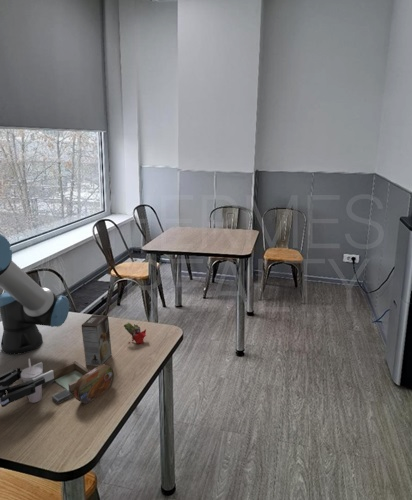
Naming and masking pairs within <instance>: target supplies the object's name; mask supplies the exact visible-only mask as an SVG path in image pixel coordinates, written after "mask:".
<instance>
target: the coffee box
mask: <svg viewBox="0 0 412 500" xmlns="http://www.w3.org/2000/svg"><path fill="white" fill-rule="evenodd" d="M80 327H81V334H82V341H83V342H82V344H83V351H84V353H83V354H84V360H85V361H84V362H85V365H86V366H95V367H97V366H99V365H104V364H105V362H106V361H107V360H108V358H109V357H110V356H112V346H111V344H112V343H111V333H110V323H109V315H99V314H91V316H90V317H89V318H88V319H86V320H85V321H84V322H83V323H82V324H81V326H80Z"/></svg>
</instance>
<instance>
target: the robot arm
mask: <svg viewBox="0 0 412 500" xmlns="http://www.w3.org/2000/svg"><path fill="white" fill-rule="evenodd" d="M11 245H12V244H11V243H10V242H9V240H8V238H6V237H5V236H4V235H2V234H1V233H0V289H1V290H3V292H2V293H1V294H0V318H1V322H2V323H1V324H2V329H3V333H2V336H1V342H0V343H1V344H0V349H1V351H2V353H4V354H7V355H22V354H26V353H30V352H32V351H36V350H37V349H38V348H40V347H41V345H42V344H43V343H44V341H43V335H42V333H41V332H40V331H39V328H38V326H44V327H45V326H47V327H51V328H53V327H54V328H55V327H56V328H58V327H62V325H63V324H65V322H66V320H67V319H68V316H69V312H70V301H69V299H68V298H67V296H65V295H61V294H60V295H58V294H56V293H54V292H53V291H52V290H51V289H49V288H47V287H41V286H40V285H39V284H38V283H37V282H36V281H35V280H34V279H33V278H32V277H30V276H29V274H28V273H26V272H25V271H24V270H22V268H21V267H19V266H18V265H17V264H16V263H15V262H14V261H13V250H12V248H11V247H12V246H11ZM37 325H38V326H37ZM31 367H40V368H41V369H42V371H44V365H43V362H42V361H40V362H38V363H36V364H33V365H31ZM27 368H29V366H28V367H25V368H23V369H21V367H17V368H12V369H10V370H9V371H6V372H4V373H1V374H0V405H1V408H5V407H7V406H8V405H9V404H11V403H13V402H16V401H19V400H21V399H23V398H25V397H28V395H31V394H33V393H35V392H36V390H35V388H36V387H37V386H39V385H41V384H44V383H45V382H47V381H49V380H52V379H54V373H53V371H54V370H53V369H50V370H49V371H46V372H43V374H42V375H39V376H37V377H35V378H33V379H32V381H29V382H26V383H23V382H22V383H19V384H15V383H16V382H17V381H19V380H20V379H21V372H22V371H24V370H25V369H27ZM13 384H15V385H13Z"/></svg>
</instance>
